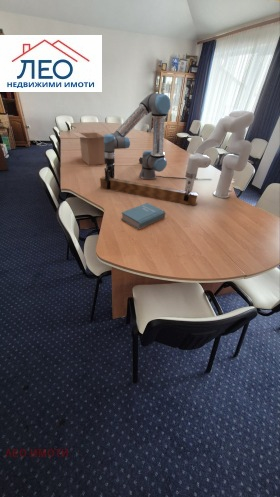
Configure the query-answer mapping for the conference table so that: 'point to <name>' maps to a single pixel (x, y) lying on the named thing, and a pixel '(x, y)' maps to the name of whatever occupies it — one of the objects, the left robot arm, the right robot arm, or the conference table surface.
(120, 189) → the bar
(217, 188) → the right robot arm
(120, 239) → the conference table surface
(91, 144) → the box
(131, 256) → the conference table surface
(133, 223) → the book
